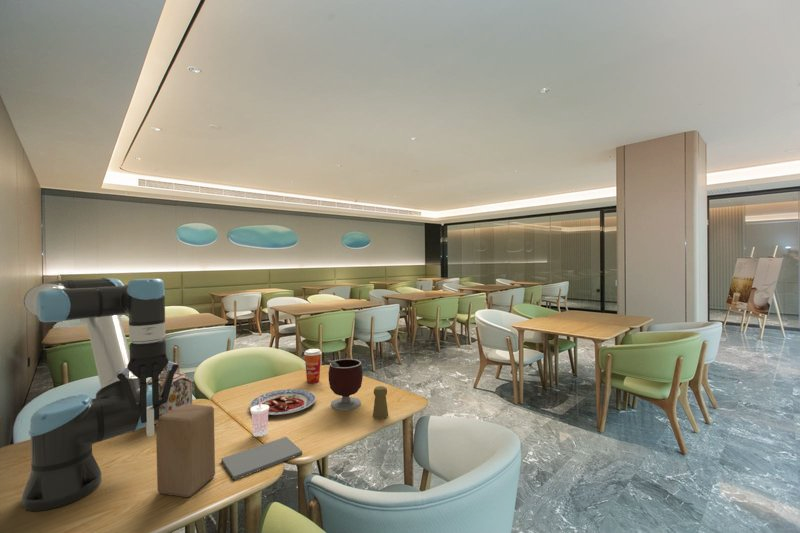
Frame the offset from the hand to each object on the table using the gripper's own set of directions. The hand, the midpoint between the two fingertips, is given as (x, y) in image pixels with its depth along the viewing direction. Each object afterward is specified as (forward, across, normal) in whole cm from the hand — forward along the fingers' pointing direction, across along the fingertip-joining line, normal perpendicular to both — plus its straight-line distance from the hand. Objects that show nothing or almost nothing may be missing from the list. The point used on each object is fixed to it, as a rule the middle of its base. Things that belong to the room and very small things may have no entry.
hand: (150, 433), depth 92 cm
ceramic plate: (+17, +48, +35) cm, 62 cm away
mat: (+17, +28, +1) cm, 32 cm away
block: (+17, +8, +1) cm, 19 cm away
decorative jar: (+16, +10, +52) cm, 55 cm away
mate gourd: (+17, +68, +20) cm, 72 cm away
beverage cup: (+17, +33, +17) cm, 40 cm away
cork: (+17, +73, +2) cm, 75 cm away
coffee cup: (+16, +71, +55) cm, 91 cm away
